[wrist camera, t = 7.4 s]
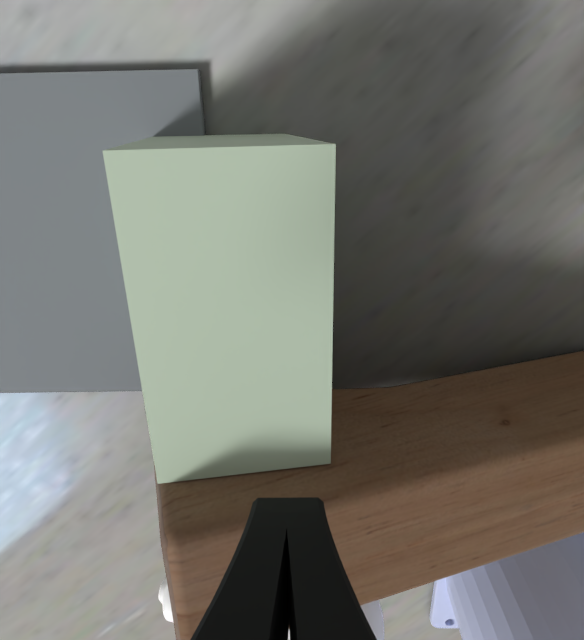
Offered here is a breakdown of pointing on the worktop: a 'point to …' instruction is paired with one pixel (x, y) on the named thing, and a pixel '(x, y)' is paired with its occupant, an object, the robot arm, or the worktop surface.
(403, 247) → the worktop surface
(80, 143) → the mat
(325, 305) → the sage block
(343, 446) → the wooden block
